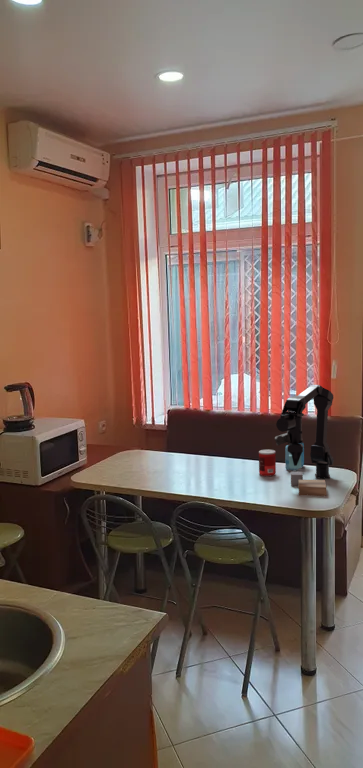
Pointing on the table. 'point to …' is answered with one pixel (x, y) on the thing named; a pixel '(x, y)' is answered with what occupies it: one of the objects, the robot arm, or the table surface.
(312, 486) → the walnut base block
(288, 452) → the data package
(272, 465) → the canned food
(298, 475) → the gray cube
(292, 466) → the teal cube
